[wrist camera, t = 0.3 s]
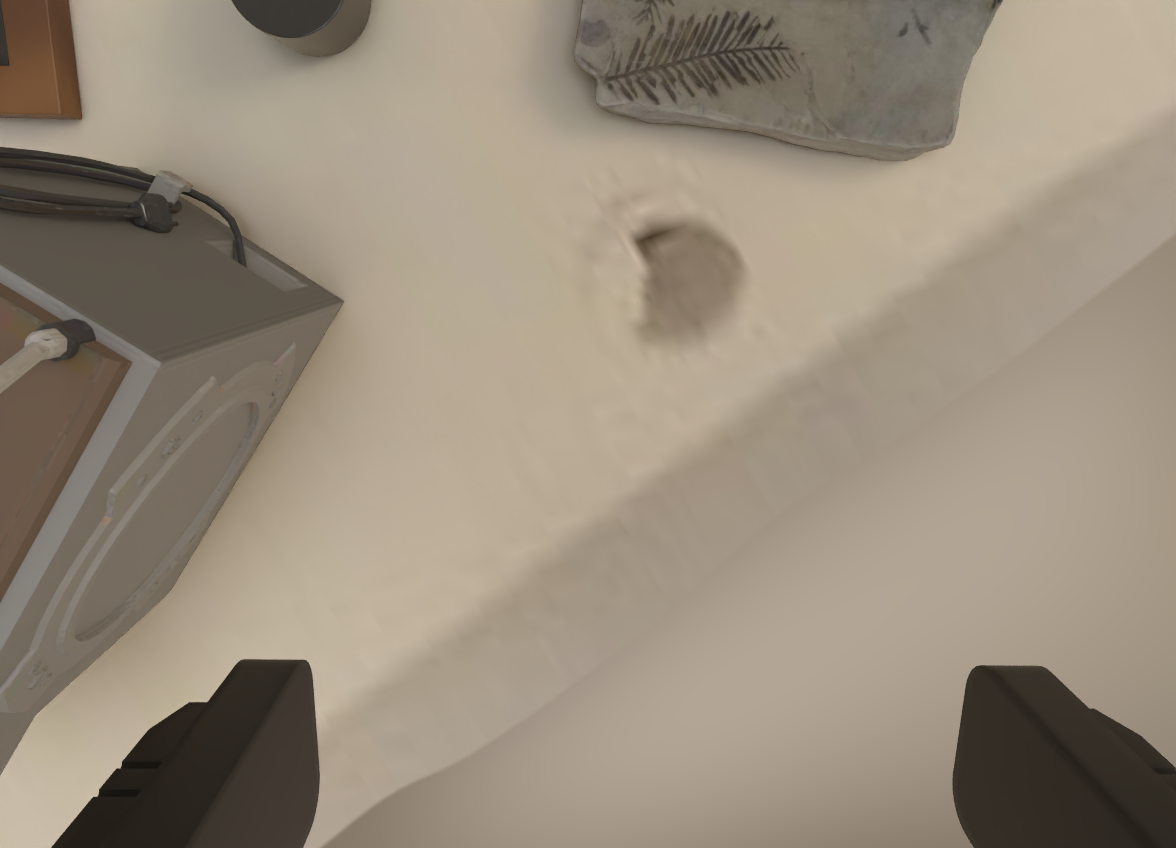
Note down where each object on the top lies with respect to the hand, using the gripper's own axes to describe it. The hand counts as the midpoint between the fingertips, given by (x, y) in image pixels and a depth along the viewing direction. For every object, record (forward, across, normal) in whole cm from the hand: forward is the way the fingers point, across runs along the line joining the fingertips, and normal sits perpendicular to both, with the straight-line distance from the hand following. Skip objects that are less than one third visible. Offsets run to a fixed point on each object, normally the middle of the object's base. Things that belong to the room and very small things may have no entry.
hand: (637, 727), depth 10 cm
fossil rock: (+29, -8, -16) cm, 34 cm away
